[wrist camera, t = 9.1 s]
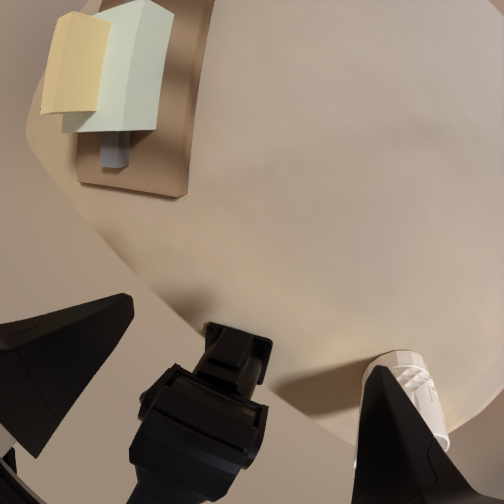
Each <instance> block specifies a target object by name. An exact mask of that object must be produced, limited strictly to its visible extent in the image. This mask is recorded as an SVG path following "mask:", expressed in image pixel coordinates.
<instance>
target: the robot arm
mask: <svg viewBox="0 0 504 504" xmlns="http://www.w3.org/2000/svg"><path fill="white" fill-rule="evenodd" d="M133 318H134V305H133V298H132V297H131V296H130V295H128V294H125V293H120V294H116V295H113V296H109V297H105V298H102V299H98V300H95V301H91V302H87V303H84V304H80V305H76V306H73V307H69V308H65V309H62V310H58V311H55V312H51V313H47V314H45V315H40V316H36V317H33V318H29V319H24V320H20V321H15V322H9V323H3V324H0V504H47V503H46V502H44V501H43V500H42V499H41V498H40V497H39V496H38V495H37V494H35V493H34V492H33V491H32V490H31V489H30V488H29V487H28V486H27V485H26V484H25V483H24V482H23V481H22V480H21V479H20V478H19V477H18V476H17V475H16V474H17V469H16V460H15V449H14V448H13V447H12V446H13V445H14V444H15V443H16V442H18V443H19V444H20V445H21V446H22V447H23V448H25V449H26V450H27V451H28V452H29V453H30V454H31V455H32V456H33V457H34V458H35V459H36V458H37V457H38V456H39V454H40V453H41V451H42V450H43V448H44V447H45V445H46V444H47V442H48V441H49V439H50V438H51V436H52V434H53V433H54V432H55V430H56V429H57V427H58V426H59V424H60V422H61V421H62V420H63V418H64V417H65V415H66V414H67V412H68V411H69V410H70V408H71V407H72V406H73V404H74V403H75V401H76V400H77V398H78V397H79V396H80V394H81V393H82V392H83V390H84V389H85V387H86V386H87V385H88V383H89V382H90V380H91V379H92V378H93V376H94V375H95V374H96V372H97V371H98V370H99V369H100V367H101V366H102V365H103V363H104V362H105V361H106V359H107V358H108V357H109V355H110V354H111V353H112V351H113V350H114V348H115V347H116V346H117V344H118V343H119V341H120V339H121V338H122V336H123V334H124V333H125V331H126V330H127V328H128V326H129V325H130V323H131V322H132V320H133ZM211 327H212V328H213V329H212V328H211ZM267 344H269V345H267ZM272 346H273V342H272V341H271V340H270V339H267V338H263V337H259V336H256V335H252V334H249V333H245V332H242V331H238V330H235V329H231V328H228V327H225V326H222V325H218V324H215V323H208V325H207V326H206V339H205V353H204V354H203V356H202V357H201V359H200V361H199V363H198V364H197V366H196V367H195V369H194V370H193V372H192V373H191V372H189V371H187V370H185V369H183V368H181V366H180V365H178V364H176V363H175V364H174V365H173V366H172V367H171V368H168V369H167V370H166V372H165V373H164V374H163V375H162V376H161V377H160V378H159V379H158V380H157V381H156V382H155V383H154V384H153V385H152V386H151V387H150V388H149V389H148V390H146V391H145V392H143V393H142V394H141V396H140V398H139V400H140V403H141V407H140V410H139V414H138V420H140V421H142V423H141V425H140V427H139V429H138V431H137V433H136V435H135V437H134V439H133V442H132V444H131V446H130V448H129V461H130V463H131V464H133V465H135V469H136V475H137V480H138V483H137V485H136V487H135V488H134V490H133V492H132V494H131V496H130V498H129V499H128V501H127V503H126V504H200V503H203V502H205V501H207V500H208V501H211V502H215V501H217V500H218V499H220V498H222V497H223V496H225V495H226V494H227V492H228V490H229V488H230V486H231V485H232V483H233V481H234V480H235V478H236V476H237V474H238V473H239V470H240V469H244V470H246V469H247V468H248V467H249V466H250V465H251V464H252V462H253V461H254V459H255V457H256V455H257V453H258V451H259V449H260V447H261V444H262V441H263V437H264V432H265V426H266V420H267V414H268V408H269V406H266V405H261V404H258V403H256V402H254V401H251V397H252V394H253V392H254V389H255V386H256V384H257V385H261V384H262V383H263V380H264V377H265V373H266V369H267V365H268V362H269V358H270V354H271V350H272ZM258 380H259V381H258ZM351 504H504V500H501V499H497V498H492V497H489V496H485V495H482V494H480V493H478V492H477V491H475V490H474V489H473V488H472V487H471V486H470V485H469V483H468V482H467V481H466V479H465V478H464V477H463V476H462V474H461V473H460V472H459V470H458V469H457V468H456V466H454V464H453V462H452V461H451V460H450V458H449V457H448V456H447V454H446V453H445V451H444V450H443V448H442V447H441V445H440V444H439V442H438V441H437V439H436V438H435V437H434V435H433V433H432V431H431V430H430V428H429V427H428V425H427V424H426V422H425V421H424V419H423V418H422V416H421V415H420V413H419V412H418V410H417V409H416V407H415V406H414V404H413V403H412V401H411V400H410V398H409V397H408V395H407V394H406V392H405V391H404V390H403V388H402V387H401V385H400V384H399V382H398V381H397V379H396V378H395V377H394V375H393V374H392V372H391V371H390V369H389V368H388V367H387V366H383V365H376V366H375V367H374V368H373V370H372V372H371V373H370V375H369V377H368V378H367V380H366V382H365V386H364V394H363V401H362V408H361V414H360V420H359V431H358V447H357V459H356V469H355V478H354V487H353V494H352V502H351Z"/></svg>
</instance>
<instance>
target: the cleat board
mask: <svg viewBox="0 0 504 504" xmlns="http://www.w3.org/2000/svg"><path fill="white" fill-rule="evenodd" d="M132 1H135V0H102V3H101V6H100V9H99V13H100V12H103V11H105V10H108V9H111V8H114V7H116V6H119V5H122V4H126V3H129V2H132ZM151 1H152V2H154V3H156V4H158V5H160V6H161V7H163V8H165V9H166V10H168V11H170V12H171V13H173V14H174V19H173V23H172V27H171V32H170V37H169V42H168V47H167V52H166V58H165V64H164V70H163V76H162V83H161V90H160V97H159V105H158V114H157V123H156V130H129V131H92V132H78V159H77V177H78V182H84V183H92V184H99V185H106V186H112V187H119V188H125V189H132V190H138V191H144V192H150V193H156V194H162V195H168V196H173V197H180V196H182V195H185V194H187V188H188V176H189V164H190V153H191V143H192V134H193V125H194V117H195V109H196V102H197V94H198V87H199V81H200V74H201V68H202V62H203V56H204V50H205V45H206V39H207V34H208V29H209V24H210V19H211V14H212V10H213V5H214V1H215V0H151Z"/></svg>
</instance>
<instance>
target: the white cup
mask: <svg viewBox="0 0 504 504" xmlns="http://www.w3.org/2000/svg"><path fill="white" fill-rule="evenodd" d="M376 365H383V366H387V367H388V368H389V369H390V371H391V372H392V374H393V375H394V377H395V378H396V379H397V381H398V382H399V384H400V385H401V387H402V388H403V390H404V391H405V392H406V394H407V395H408V397H409V398H410V400H411V401H412V403H413V404H414V406H415V407H416V409H417V410H418V412H419V413H420V415H421V416H422V418H423V419H424V421H425V422H426V424H427V425H428V427H429V428H430V430H431V431H432V433H433V435H434V437H435V438H436V439H437V441H438V442H439V444H440V445H441V447H442V448H443V450H444V451H445V452H446V451H447V450H448V448H449V445H450V442H449V437H448V432H447V428H446V424H445V420H444V416H443V412H442V409H441V405H440V401H439V399H438V396H437V392H436V390H435V387H434V384H433V381H432V378H431V377H430V375H429V372H428V368H427V365H426V363H425V361H424V360H423V358H422V356H421V355H419V354H417V353H415V352H412V351H410V350H402V351H393V352H390V353H387V354H384V355H381V356H379V357H378V358H377V359H375V360H374V361H373V362H371V363H370V364H369V365H368V367H367V368H366V370H365V372H364V373H363V376H362V396H361V399H360V407H359V418H358V426H357V437H356V446H355V455H354V462H353V467H354V468H355V469H356V459H357V447H358V431H359V420H360V414H361V408H362V401H363V394H364V386H365V382H366V380H367V378H368V377H369V375H370V373H371V372H372V370H373V368H374V367H375V366H376Z"/></svg>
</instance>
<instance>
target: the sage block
mask: <svg viewBox="0 0 504 504" xmlns="http://www.w3.org/2000/svg"><path fill="white" fill-rule="evenodd" d="M173 19H174V14H173V13H171V12H170V11H168V10H166V9H165V8H163V7H161V6H160V5H158V4H156V3H154V2H152V1H151V0H135V1H132V2H129V3H126V4H122V5H119V6H116V7H114V8H111V9H108V10H105V11H103V12H100V13H97V14H95V15H92V16H89V15H85V14H81V13H78V12H74V11H72V12H70V13H68V14H66V15H64V16H62V17H60V18H58V21H57V25H56V28H55V32H54V36H53V40H52V44H51V48H50V53H49V58H48V63H47V68H46V74H45V80H44V87H43V95H42V104H41V115H46V114H59V113H63V122H62V133H73V132H92V131H129V130H156V123H157V114H158V105H159V97H160V90H161V83H162V76H163V70H164V64H165V58H166V52H167V47H168V42H169V37H170V32H171V27H172V23H173Z"/></svg>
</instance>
